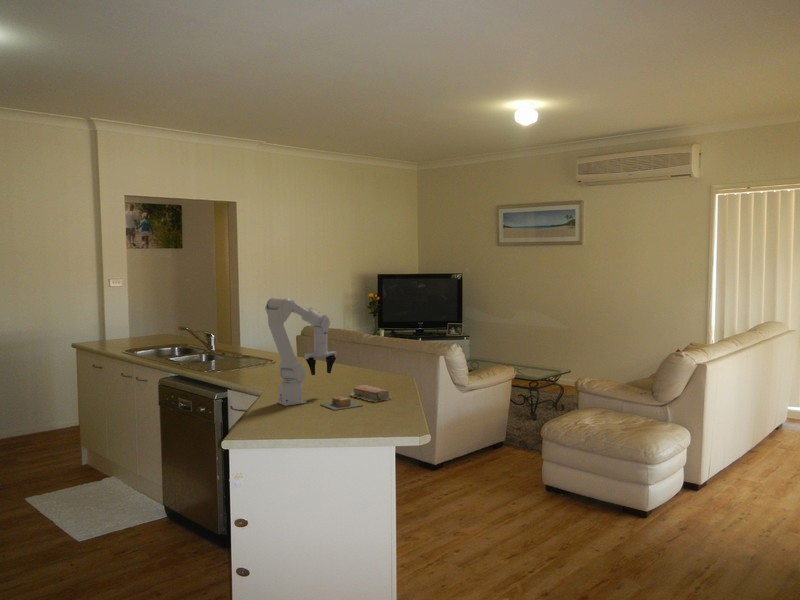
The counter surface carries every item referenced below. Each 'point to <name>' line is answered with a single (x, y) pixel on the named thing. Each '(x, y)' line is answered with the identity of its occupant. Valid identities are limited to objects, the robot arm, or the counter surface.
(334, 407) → the slate mat
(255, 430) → the counter surface
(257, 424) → the counter surface
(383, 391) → the packaged product
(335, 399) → the walnut block
